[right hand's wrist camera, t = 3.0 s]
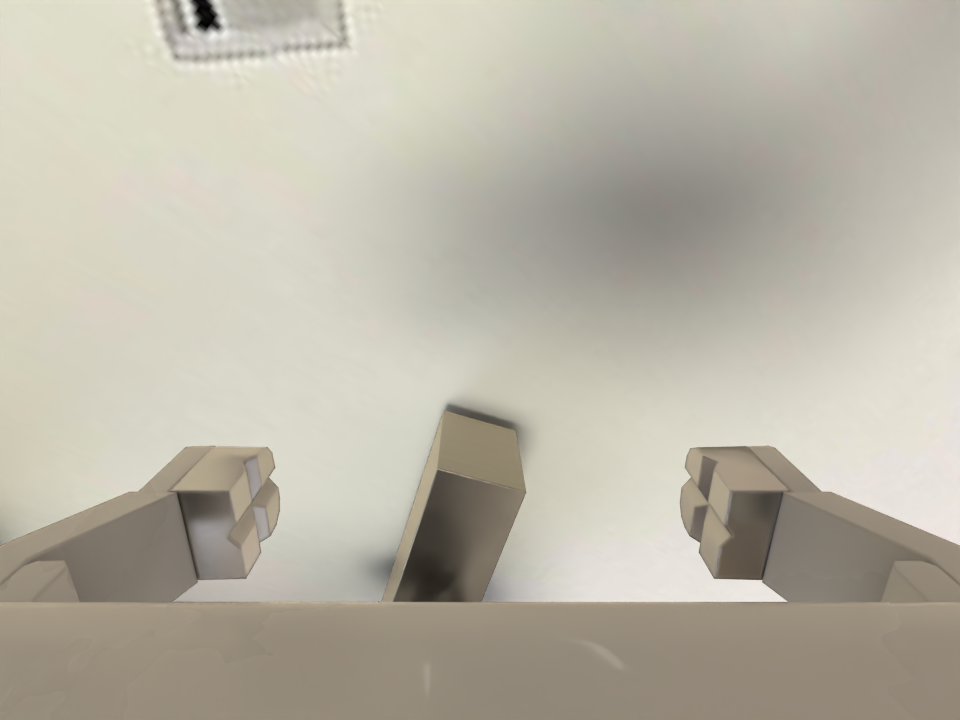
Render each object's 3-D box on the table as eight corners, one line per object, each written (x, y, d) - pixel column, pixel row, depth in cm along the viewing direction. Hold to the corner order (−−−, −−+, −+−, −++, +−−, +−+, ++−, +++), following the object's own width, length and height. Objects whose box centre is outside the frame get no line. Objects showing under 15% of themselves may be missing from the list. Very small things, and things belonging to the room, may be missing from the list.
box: (443, 409, 42) (437, 468, 34) (516, 430, 43) (526, 492, 34) (381, 601, 49) (363, 688, 41) (444, 616, 49) (439, 704, 41)
